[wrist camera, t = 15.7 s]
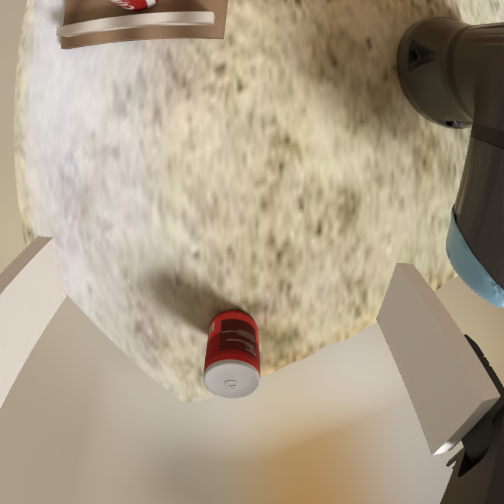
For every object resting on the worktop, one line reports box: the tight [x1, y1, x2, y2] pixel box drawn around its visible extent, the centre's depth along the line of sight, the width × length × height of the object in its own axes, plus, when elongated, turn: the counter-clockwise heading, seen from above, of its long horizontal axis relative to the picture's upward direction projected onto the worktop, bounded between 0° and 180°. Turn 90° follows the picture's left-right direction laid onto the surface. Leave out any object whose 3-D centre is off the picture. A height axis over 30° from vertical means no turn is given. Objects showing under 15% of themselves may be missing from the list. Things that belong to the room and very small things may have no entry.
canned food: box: [203, 310, 260, 398], centre depth 46 cm, size 8×8×11 cm
